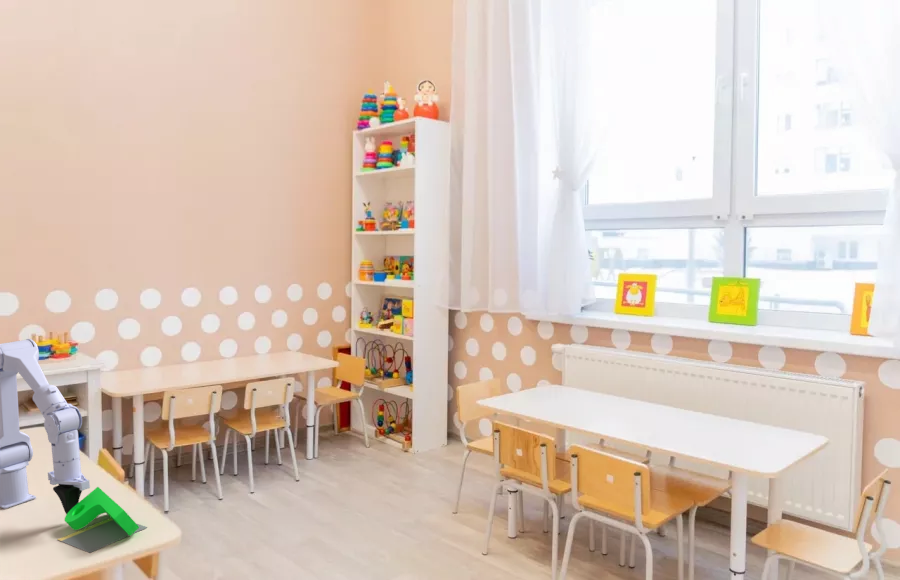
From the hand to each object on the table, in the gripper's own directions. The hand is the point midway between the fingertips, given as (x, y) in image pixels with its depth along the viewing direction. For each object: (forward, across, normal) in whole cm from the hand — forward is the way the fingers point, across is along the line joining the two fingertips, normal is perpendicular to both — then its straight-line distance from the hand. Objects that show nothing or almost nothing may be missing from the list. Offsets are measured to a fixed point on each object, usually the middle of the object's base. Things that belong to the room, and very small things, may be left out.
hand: (71, 513), depth 167 cm
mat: (+2, +13, 0) cm, 13 cm away
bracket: (+2, +12, 0) cm, 12 cm away
